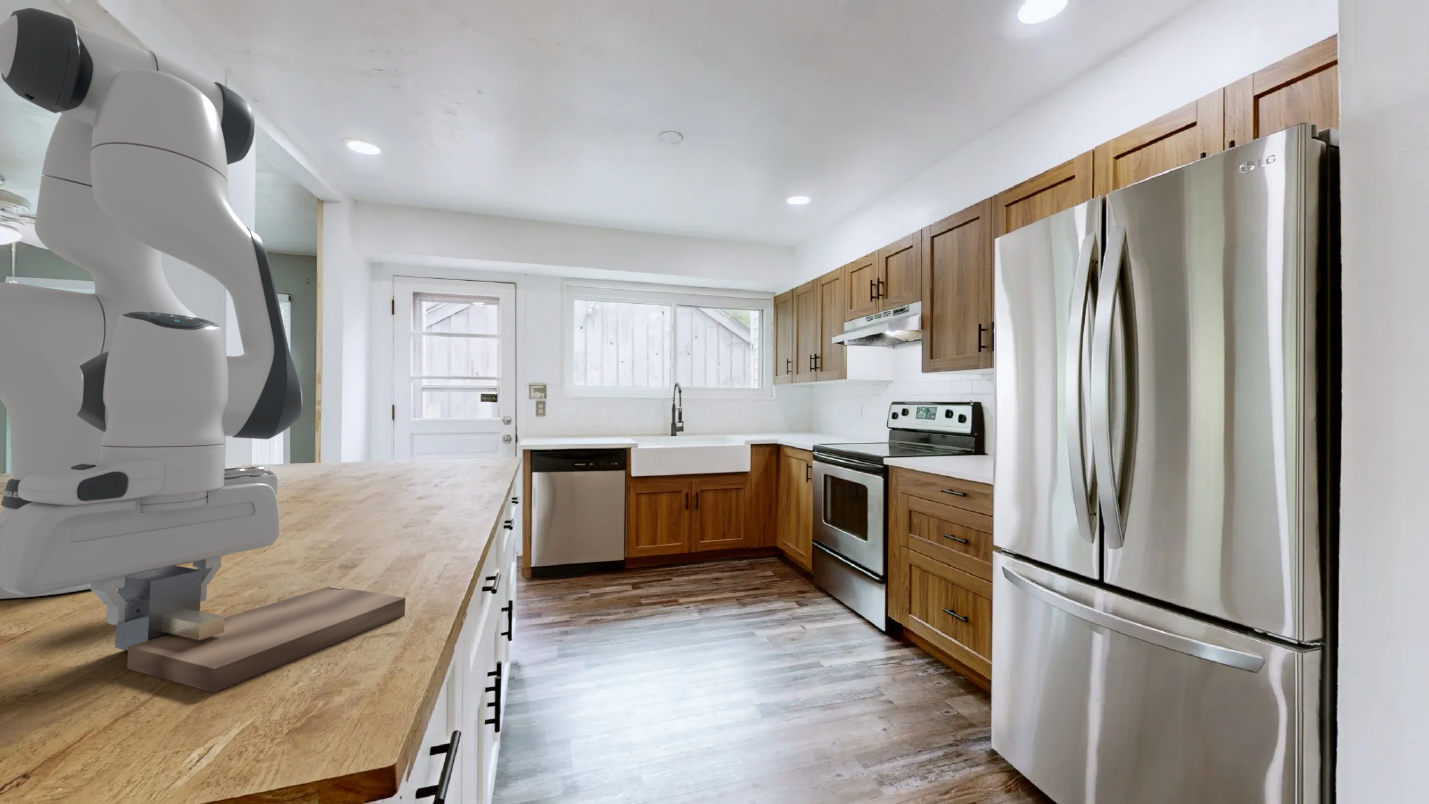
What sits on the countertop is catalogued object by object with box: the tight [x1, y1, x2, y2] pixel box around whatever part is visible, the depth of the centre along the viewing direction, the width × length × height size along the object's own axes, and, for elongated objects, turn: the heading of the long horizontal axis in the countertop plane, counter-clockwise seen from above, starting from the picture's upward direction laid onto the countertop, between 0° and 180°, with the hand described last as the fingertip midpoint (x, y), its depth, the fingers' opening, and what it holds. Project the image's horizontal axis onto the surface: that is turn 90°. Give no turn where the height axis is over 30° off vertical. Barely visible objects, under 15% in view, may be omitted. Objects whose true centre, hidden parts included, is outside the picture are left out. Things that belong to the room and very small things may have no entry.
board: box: [126, 585, 406, 693], centre depth 57 cm, size 12×19×2 cm, turn 162°
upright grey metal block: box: [114, 565, 225, 652], centre depth 53 cm, size 10×4×7 cm, turn 72°
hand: (158, 612), depth 54 cm, fingers closed on upright grey metal block, 4 cm apart
